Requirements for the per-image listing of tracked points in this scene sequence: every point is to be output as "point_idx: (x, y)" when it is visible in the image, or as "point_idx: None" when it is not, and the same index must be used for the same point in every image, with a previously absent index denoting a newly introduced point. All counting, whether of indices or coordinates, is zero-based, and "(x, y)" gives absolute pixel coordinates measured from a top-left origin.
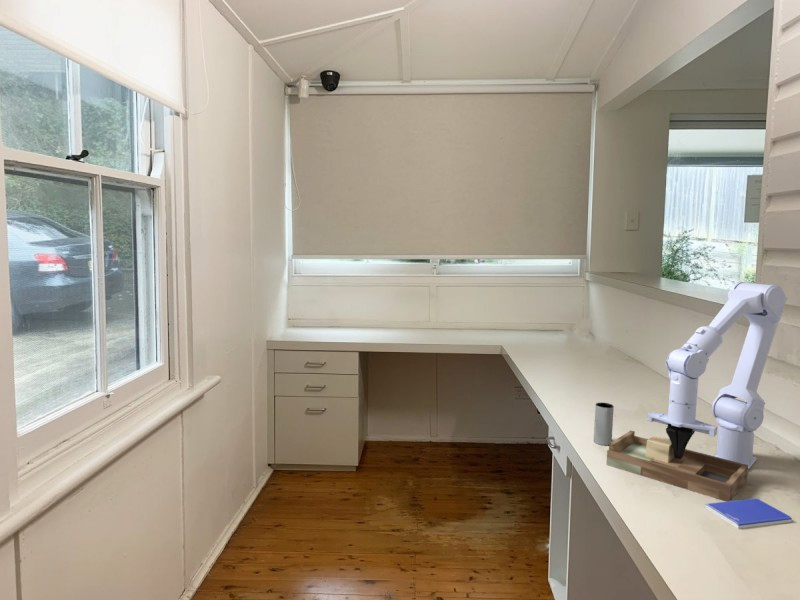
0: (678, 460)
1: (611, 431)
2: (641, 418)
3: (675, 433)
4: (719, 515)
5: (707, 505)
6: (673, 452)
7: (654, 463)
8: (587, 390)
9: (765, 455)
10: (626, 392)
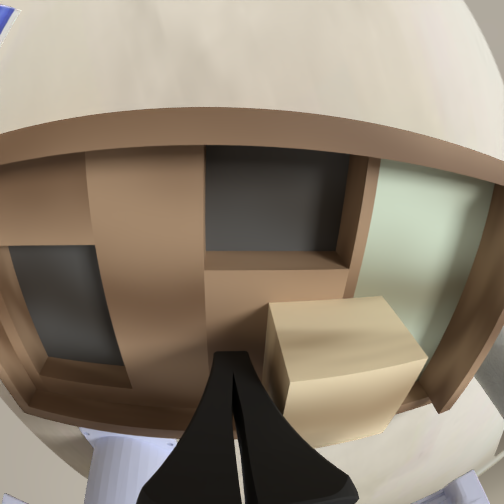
0: None
1: (486, 372)
2: (373, 477)
3: (262, 497)
4: None
5: (5, 5)
6: (267, 391)
7: (325, 130)
8: (441, 469)
9: None
10: (388, 497)
